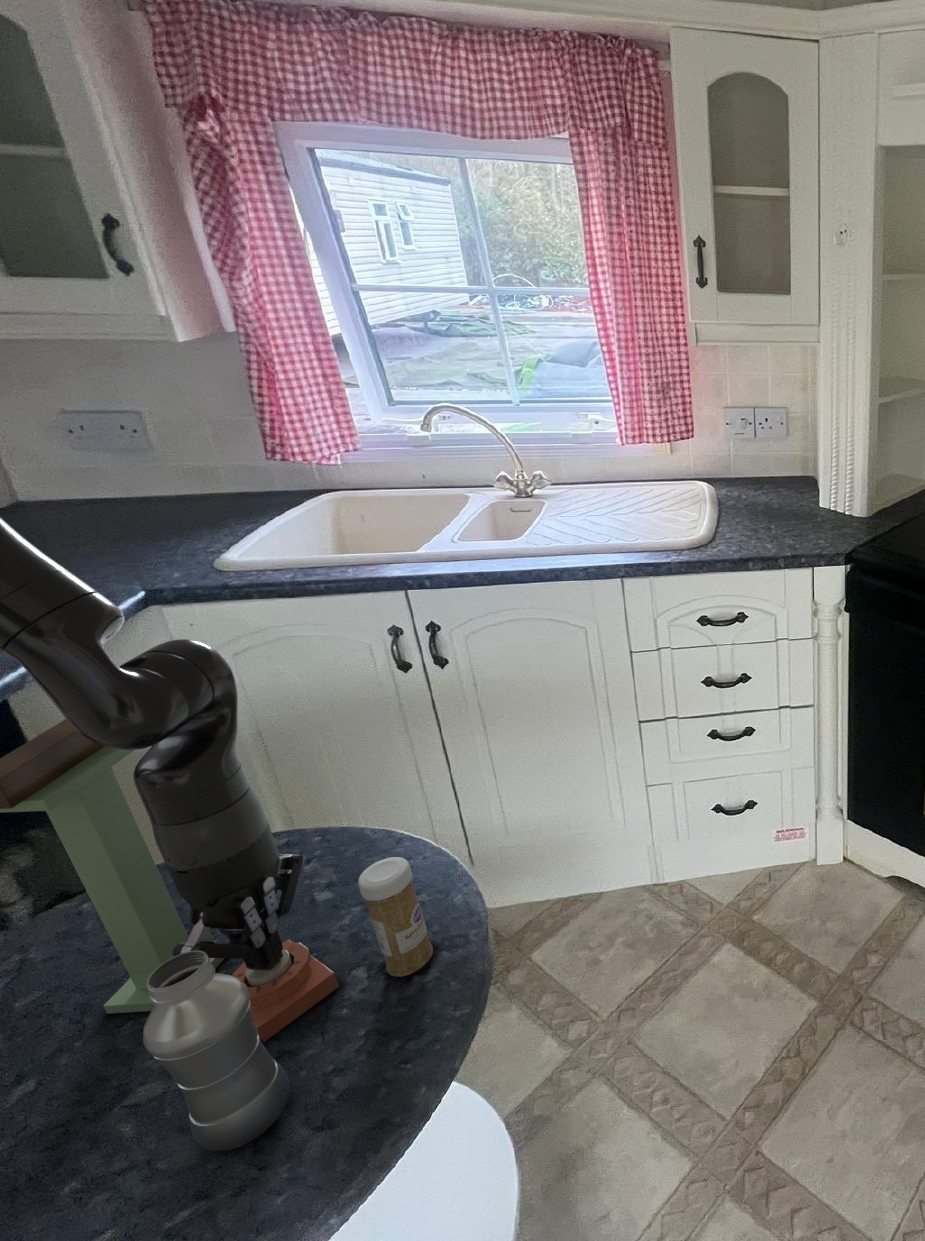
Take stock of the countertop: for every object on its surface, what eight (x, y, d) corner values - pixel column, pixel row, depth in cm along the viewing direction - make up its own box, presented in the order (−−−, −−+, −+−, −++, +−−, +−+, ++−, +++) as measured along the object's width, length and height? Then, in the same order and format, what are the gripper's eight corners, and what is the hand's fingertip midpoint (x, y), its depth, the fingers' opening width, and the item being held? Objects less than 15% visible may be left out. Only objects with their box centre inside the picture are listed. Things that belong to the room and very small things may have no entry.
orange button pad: (218, 1003, 79) (206, 977, 77) (294, 952, 85) (284, 927, 83) (264, 1042, 75) (252, 1015, 74) (339, 986, 81) (330, 960, 80)
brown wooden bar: (176, 679, 83) (167, 656, 82) (204, 679, 83) (195, 656, 82) (-25, 810, 64) (-41, 782, 63) (11, 808, 64) (-3, 781, 63)
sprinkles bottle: (431, 969, 83) (405, 879, 78) (383, 984, 82) (352, 893, 76) (435, 937, 87) (411, 850, 82) (389, 951, 85) (361, 862, 80)
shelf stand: (178, 939, 86) (80, 728, 75) (244, 936, 86) (156, 726, 75) (88, 1032, 75) (-40, 803, 64) (164, 1027, 76) (50, 800, 65)
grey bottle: (309, 1108, 70) (245, 957, 62) (217, 1179, 64) (136, 1022, 57) (278, 1071, 73) (214, 922, 65) (188, 1136, 67) (106, 981, 60)
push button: (242, 982, 78) (237, 970, 77) (282, 955, 81) (277, 944, 80) (261, 996, 77) (256, 984, 76) (300, 969, 80) (296, 957, 79)
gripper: (238, 789, 78) (284, 910, 84) (107, 889, 66) (172, 1022, 72) (308, 792, 78) (349, 913, 84) (190, 892, 66) (249, 1025, 72)
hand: (267, 963), depth 78 cm, fingers closed
